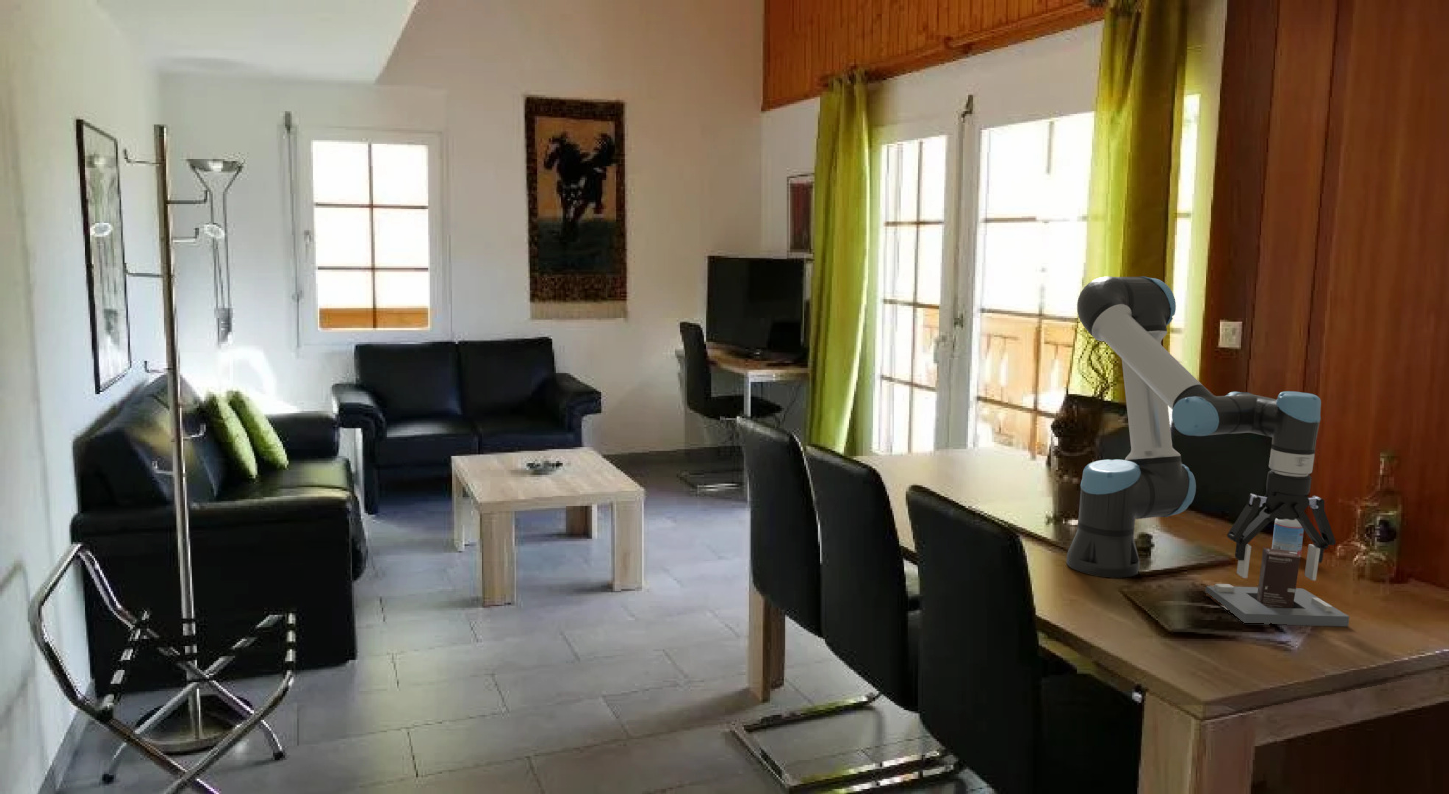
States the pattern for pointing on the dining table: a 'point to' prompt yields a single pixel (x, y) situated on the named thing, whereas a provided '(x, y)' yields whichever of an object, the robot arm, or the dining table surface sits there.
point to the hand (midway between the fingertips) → (1276, 577)
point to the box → (1278, 578)
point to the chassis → (1252, 611)
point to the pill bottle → (1288, 535)
